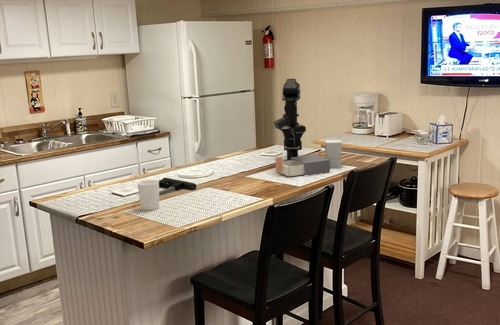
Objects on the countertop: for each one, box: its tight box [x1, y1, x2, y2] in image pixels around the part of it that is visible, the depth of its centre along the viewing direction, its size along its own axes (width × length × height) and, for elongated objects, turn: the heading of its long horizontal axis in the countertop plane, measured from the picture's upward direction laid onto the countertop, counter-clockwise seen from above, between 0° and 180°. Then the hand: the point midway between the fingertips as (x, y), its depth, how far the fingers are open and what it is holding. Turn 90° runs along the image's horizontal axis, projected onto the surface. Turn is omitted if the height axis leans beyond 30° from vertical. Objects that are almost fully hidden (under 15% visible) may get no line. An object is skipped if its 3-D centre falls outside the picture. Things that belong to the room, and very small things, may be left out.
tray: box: [275, 156, 305, 177], centre depth 241 cm, size 12×15×8 cm
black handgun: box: [158, 177, 197, 196], centre depth 222 cm, size 3×20×16 cm
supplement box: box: [324, 139, 342, 169], centre depth 253 cm, size 7×7×13 cm
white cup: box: [137, 179, 160, 211], centre depth 196 cm, size 8×8×10 cm
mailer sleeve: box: [291, 154, 331, 176], centre depth 245 cm, size 14×13×6 cm
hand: (291, 144), depth 248 cm, fingers open, 9 cm apart
